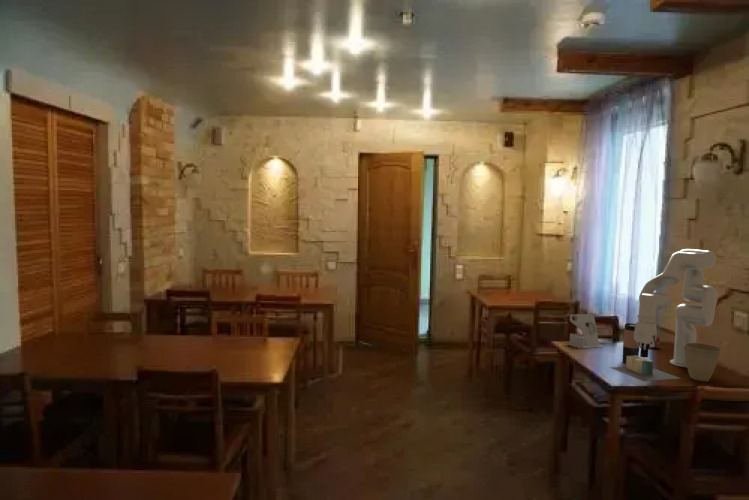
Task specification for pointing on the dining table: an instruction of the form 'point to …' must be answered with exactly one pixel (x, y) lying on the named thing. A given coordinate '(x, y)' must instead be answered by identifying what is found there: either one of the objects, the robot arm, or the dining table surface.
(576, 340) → the phone holder
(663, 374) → the rubber mat
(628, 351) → the travel mug
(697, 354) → the plant pot
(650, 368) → the maple block
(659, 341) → the christmas ornament
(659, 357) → the dining table surface
